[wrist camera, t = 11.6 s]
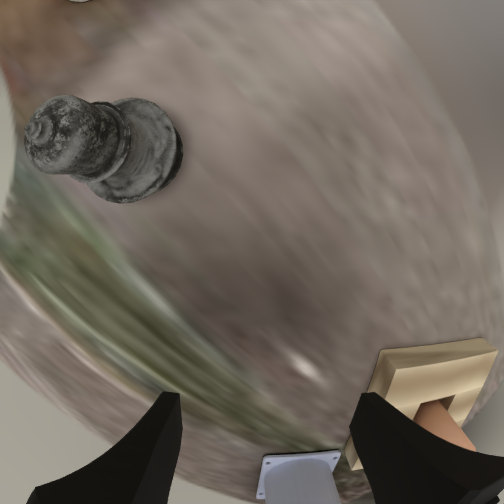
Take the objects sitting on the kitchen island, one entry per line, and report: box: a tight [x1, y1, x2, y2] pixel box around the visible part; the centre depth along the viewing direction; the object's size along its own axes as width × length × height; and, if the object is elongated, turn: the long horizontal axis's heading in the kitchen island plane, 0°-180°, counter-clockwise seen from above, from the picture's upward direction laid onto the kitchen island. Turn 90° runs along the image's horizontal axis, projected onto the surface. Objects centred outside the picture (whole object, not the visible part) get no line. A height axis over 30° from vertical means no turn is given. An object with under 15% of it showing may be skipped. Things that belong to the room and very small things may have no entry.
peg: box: [413, 399, 476, 452], centre depth 19 cm, size 3×3×10 cm
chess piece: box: [24, 95, 183, 203], centre depth 12 cm, size 6×6×12 cm
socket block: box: [344, 338, 498, 471], centre depth 22 cm, size 13×13×3 cm
